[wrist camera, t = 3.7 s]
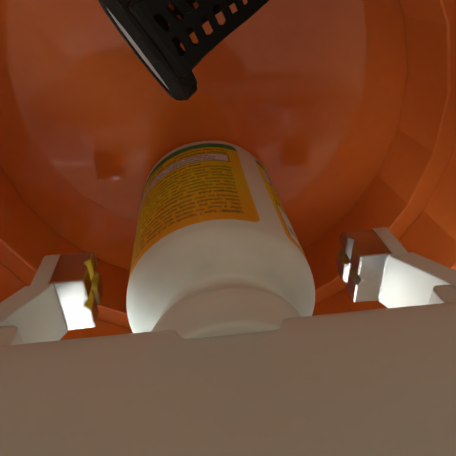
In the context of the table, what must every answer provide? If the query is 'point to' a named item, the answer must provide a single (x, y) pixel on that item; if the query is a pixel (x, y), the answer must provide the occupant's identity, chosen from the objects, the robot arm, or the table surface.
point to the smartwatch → (175, 35)
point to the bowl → (229, 132)
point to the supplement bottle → (214, 248)
